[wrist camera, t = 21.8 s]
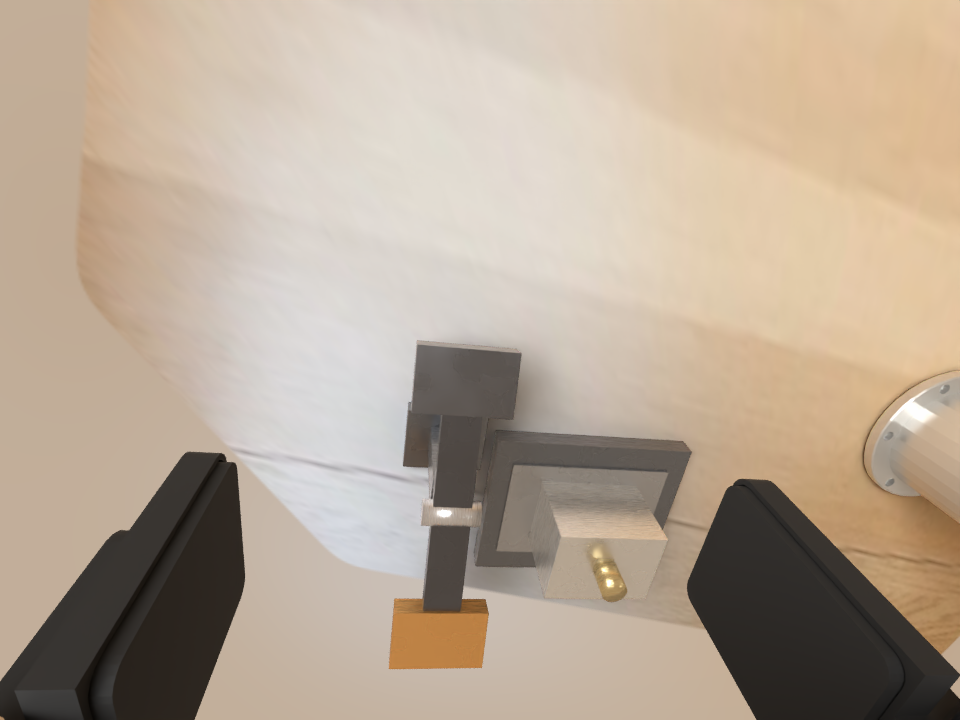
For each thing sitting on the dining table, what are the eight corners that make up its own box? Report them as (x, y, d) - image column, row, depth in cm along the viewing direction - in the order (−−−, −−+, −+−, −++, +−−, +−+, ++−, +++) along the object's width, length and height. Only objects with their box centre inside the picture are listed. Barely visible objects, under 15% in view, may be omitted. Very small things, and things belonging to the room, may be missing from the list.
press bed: (690, 420, 42) (741, 478, 35) (641, 556, 48) (677, 627, 41) (408, 402, 38) (406, 462, 31) (394, 551, 44) (390, 627, 37)
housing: (636, 485, 42) (681, 562, 34) (617, 540, 44) (655, 622, 37) (542, 481, 40) (568, 559, 33) (528, 538, 43) (550, 622, 36)
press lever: (516, 348, 31) (521, 353, 29) (478, 650, 35) (481, 668, 33) (416, 340, 30) (417, 344, 28) (389, 651, 34) (388, 670, 32)
